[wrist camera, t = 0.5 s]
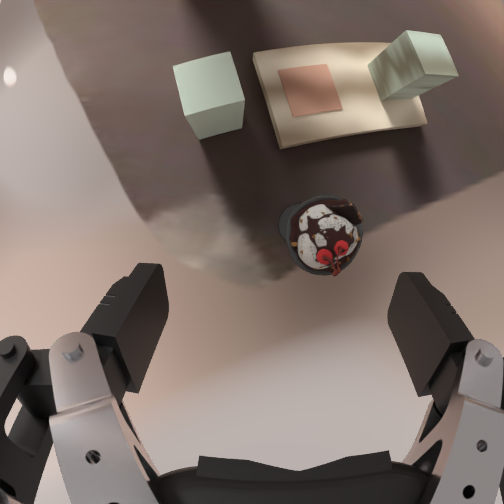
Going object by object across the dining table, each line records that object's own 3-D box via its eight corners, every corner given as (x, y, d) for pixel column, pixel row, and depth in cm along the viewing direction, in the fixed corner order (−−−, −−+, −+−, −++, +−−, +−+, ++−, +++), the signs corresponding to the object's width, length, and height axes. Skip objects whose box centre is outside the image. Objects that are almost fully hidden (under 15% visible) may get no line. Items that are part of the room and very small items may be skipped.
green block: (189, 101, 30) (172, 66, 21) (231, 90, 30) (229, 51, 21) (199, 139, 31) (184, 116, 22) (241, 128, 31) (245, 99, 22)
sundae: (279, 260, 34) (311, 305, 20) (265, 203, 33) (289, 207, 18) (332, 246, 34) (395, 278, 20) (320, 190, 33) (380, 186, 18)
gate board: (252, 59, 30) (260, 4, 18) (391, 48, 30) (436, 11, 18) (279, 149, 32) (303, 123, 20) (419, 126, 32) (477, 107, 20)
